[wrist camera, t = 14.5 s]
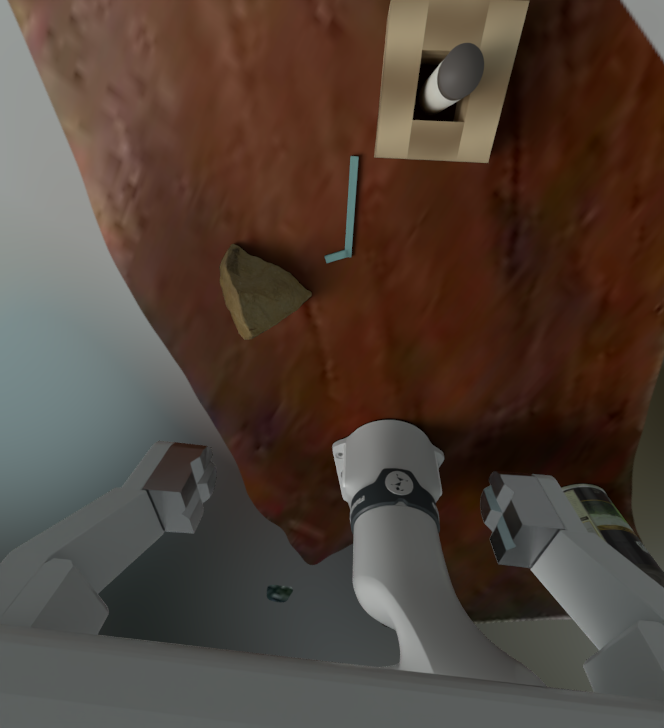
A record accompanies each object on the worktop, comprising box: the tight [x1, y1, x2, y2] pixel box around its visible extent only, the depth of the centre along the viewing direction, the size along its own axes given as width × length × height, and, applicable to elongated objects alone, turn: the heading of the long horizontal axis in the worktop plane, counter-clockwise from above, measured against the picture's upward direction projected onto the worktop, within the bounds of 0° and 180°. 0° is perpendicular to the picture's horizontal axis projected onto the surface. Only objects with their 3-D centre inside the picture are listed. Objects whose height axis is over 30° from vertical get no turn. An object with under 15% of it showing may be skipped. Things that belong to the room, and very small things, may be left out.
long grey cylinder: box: [419, 43, 484, 115], centre depth 26 cm, size 3×3×10 cm
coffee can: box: [561, 484, 664, 588], centre depth 53 cm, size 10×10×14 cm
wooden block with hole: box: [374, 0, 529, 163], centre depth 28 cm, size 10×10×4 cm
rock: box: [219, 244, 312, 340], centre depth 38 cm, size 11×9×10 cm
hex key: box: [325, 156, 359, 263], centre depth 36 cm, size 11×3×1 cm, turn 178°
